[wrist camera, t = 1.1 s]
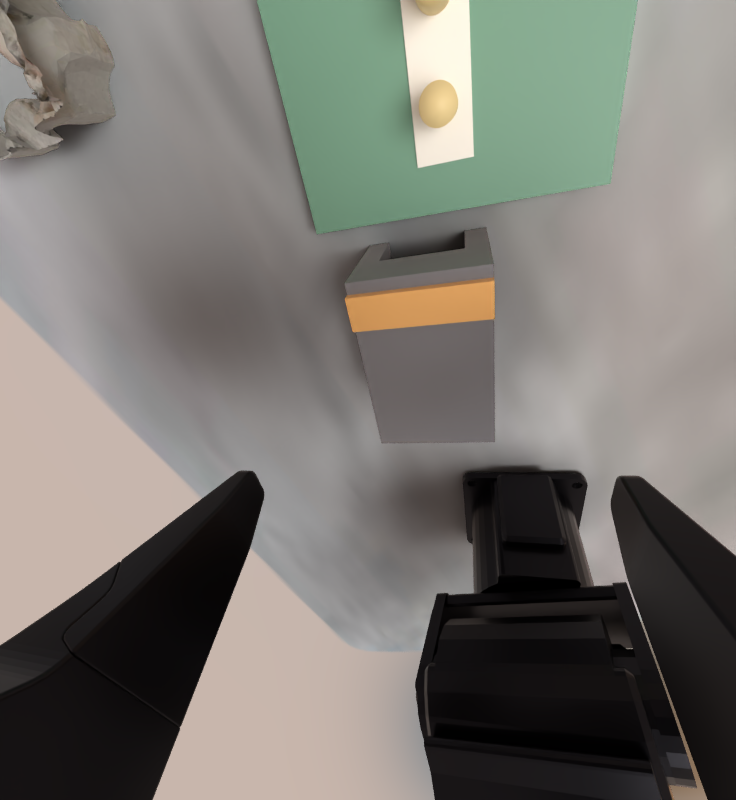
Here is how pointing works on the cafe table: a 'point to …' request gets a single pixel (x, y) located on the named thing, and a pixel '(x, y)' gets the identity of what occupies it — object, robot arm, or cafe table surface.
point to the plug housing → (428, 341)
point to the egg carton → (52, 75)
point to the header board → (447, 100)
